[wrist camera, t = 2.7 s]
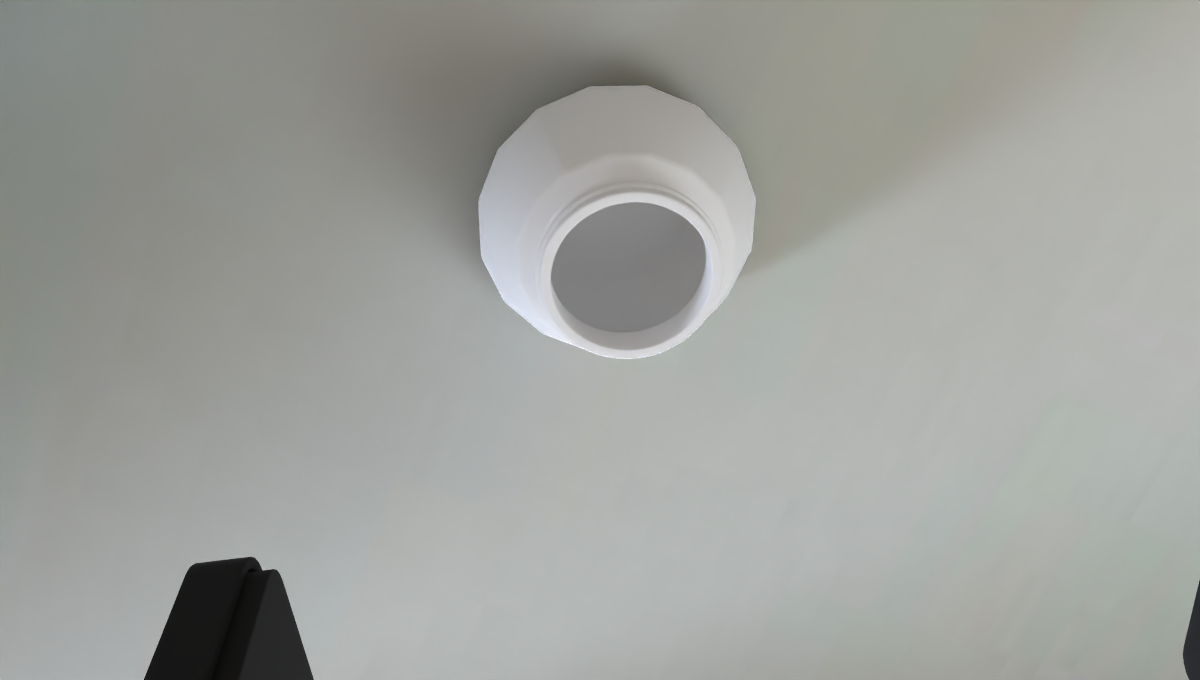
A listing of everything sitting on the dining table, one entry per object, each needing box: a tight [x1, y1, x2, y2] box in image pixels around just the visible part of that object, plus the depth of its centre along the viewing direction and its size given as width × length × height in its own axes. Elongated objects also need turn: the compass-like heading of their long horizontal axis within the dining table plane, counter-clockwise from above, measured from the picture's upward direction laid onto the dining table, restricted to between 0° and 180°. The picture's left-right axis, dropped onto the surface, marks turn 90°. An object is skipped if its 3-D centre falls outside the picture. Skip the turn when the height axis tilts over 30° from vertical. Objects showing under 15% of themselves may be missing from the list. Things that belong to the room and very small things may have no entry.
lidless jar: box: [478, 85, 756, 359], centre depth 19 cm, size 5×3×5 cm
